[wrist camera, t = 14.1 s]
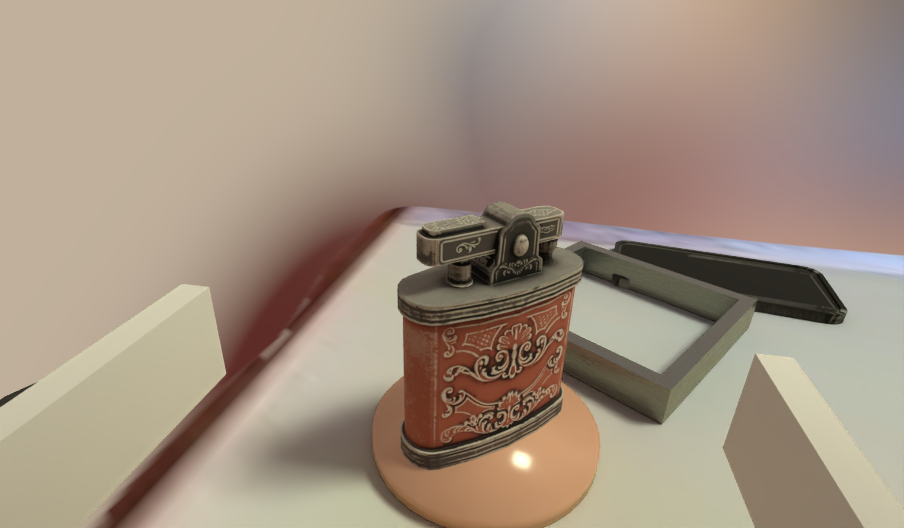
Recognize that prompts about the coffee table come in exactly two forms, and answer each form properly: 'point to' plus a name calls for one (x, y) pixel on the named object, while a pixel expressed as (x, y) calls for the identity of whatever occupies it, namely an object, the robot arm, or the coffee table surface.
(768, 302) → the phone
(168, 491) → the coffee table surface
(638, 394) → the holder frame
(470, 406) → the lighter
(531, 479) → the coaster
